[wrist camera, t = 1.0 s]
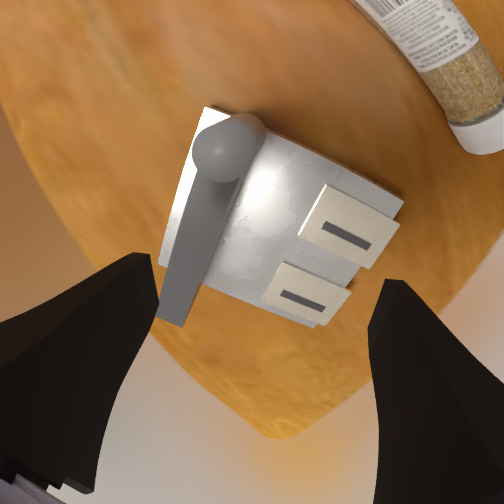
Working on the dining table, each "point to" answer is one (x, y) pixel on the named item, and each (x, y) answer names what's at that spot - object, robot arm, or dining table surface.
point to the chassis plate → (293, 229)
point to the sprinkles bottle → (447, 65)
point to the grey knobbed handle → (207, 207)
